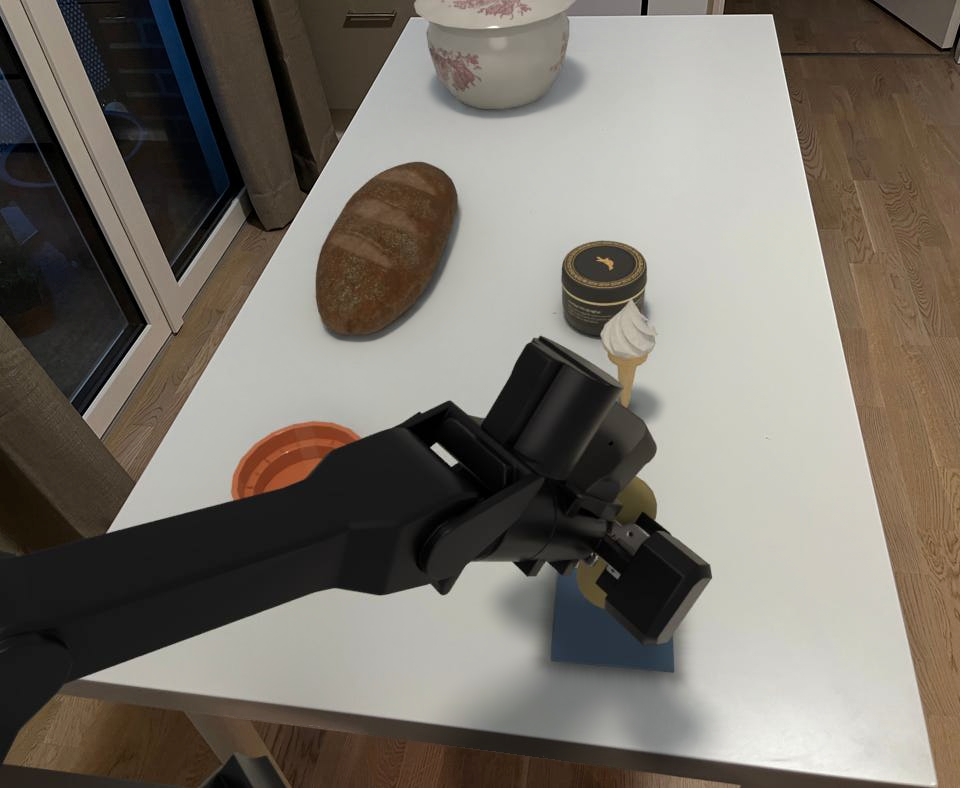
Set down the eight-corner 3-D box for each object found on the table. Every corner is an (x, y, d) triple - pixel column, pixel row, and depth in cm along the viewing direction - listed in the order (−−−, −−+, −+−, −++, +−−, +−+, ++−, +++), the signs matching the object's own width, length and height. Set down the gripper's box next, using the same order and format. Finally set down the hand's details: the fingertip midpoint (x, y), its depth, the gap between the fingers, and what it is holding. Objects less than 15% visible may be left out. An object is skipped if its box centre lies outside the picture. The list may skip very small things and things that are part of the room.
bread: (476, 189, 121) (471, 137, 115) (412, 347, 96) (402, 292, 90) (378, 185, 124) (369, 135, 118) (292, 337, 99) (275, 283, 93)
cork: (610, 625, 61) (618, 541, 53) (561, 571, 65) (561, 485, 57) (668, 584, 63) (683, 498, 56) (617, 534, 67) (625, 447, 59)
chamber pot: (551, 136, 131) (549, 3, 116) (401, 120, 139) (382, -5, 125) (595, 66, 149) (598, -56, 134) (460, 56, 157) (449, -60, 143)
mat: (551, 661, 66) (551, 659, 66) (558, 568, 72) (558, 566, 72) (673, 672, 65) (674, 670, 64) (670, 576, 71) (670, 575, 71)
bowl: (327, 578, 74) (316, 551, 70) (216, 528, 79) (202, 500, 76) (404, 474, 82) (397, 445, 79) (299, 435, 87) (289, 406, 84)
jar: (587, 280, 103) (588, 230, 97) (658, 304, 98) (663, 253, 93) (546, 323, 97) (544, 272, 92) (619, 351, 93) (622, 299, 87)
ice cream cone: (653, 425, 84) (665, 315, 73) (600, 428, 84) (604, 318, 74) (646, 388, 88) (656, 279, 77) (595, 391, 88) (598, 282, 78)
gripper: (714, 495, 41) (798, 510, 53) (484, 327, 52) (598, 372, 64) (599, 662, 43) (705, 640, 55) (402, 468, 54) (528, 485, 66)
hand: (630, 523), depth 60 cm, fingers closed on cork, 5 cm apart
